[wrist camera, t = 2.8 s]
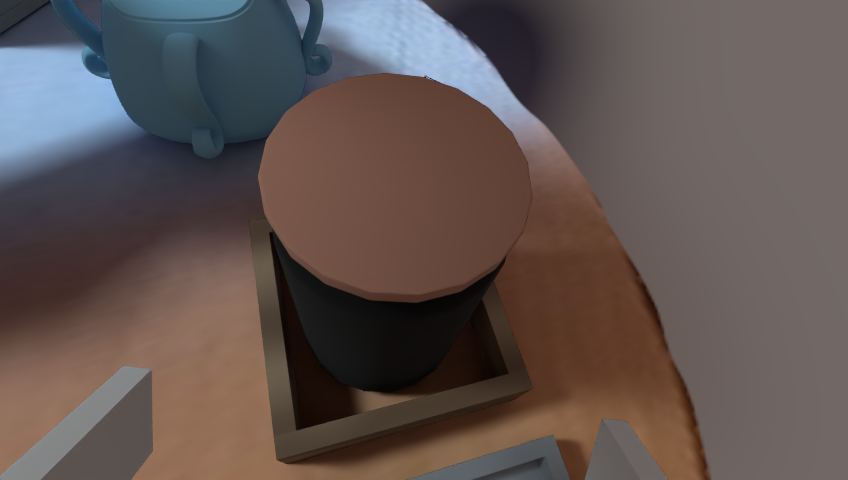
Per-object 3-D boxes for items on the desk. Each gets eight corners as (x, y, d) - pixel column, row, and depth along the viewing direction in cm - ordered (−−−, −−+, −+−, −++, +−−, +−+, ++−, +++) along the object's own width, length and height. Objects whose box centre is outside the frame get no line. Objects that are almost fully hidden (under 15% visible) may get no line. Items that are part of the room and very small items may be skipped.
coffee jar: (461, 270, 36) (539, 100, 21) (441, 410, 31) (526, 324, 15) (328, 242, 36) (305, 49, 20) (285, 379, 31) (209, 260, 15)
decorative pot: (90, 87, 40) (-23, -79, 29) (242, 15, 47) (202, -144, 35) (202, 200, 36) (126, 61, 25) (351, 103, 43) (348, -42, 31)
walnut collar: (259, 247, 35) (248, 220, 31) (449, 214, 39) (458, 187, 35) (286, 464, 28) (276, 459, 25) (514, 399, 32) (533, 388, 28)
